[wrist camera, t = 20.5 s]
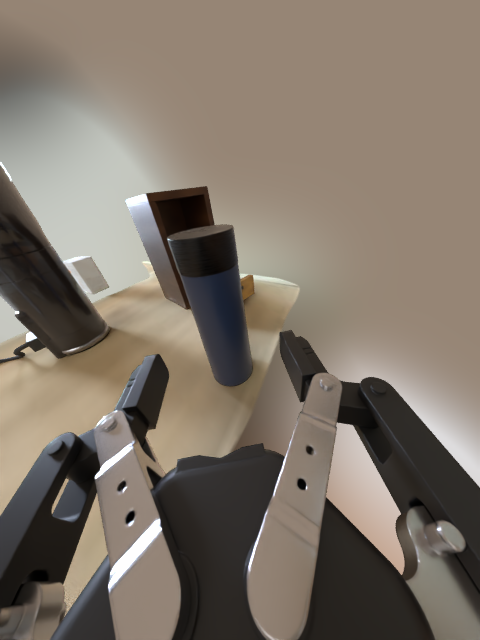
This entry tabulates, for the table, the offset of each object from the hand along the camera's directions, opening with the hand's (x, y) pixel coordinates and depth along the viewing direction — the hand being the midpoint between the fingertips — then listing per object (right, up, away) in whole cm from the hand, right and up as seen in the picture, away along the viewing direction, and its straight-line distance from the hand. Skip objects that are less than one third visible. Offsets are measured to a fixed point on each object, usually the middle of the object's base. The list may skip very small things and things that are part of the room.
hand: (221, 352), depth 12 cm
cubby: (-11, +9, +37) cm, 39 cm away
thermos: (0, -5, +14) cm, 14 cm away
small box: (-48, +12, +50) cm, 70 cm away
